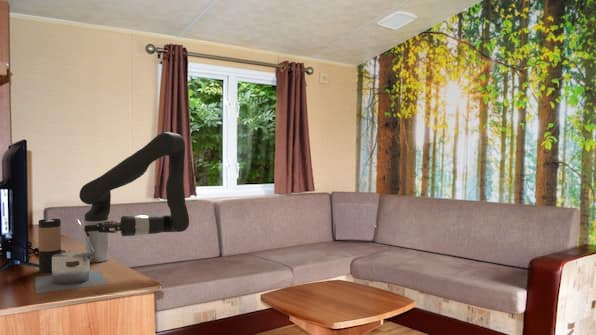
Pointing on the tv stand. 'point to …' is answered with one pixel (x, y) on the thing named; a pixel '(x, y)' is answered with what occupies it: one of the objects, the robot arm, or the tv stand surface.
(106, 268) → the tv stand surface
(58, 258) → the pot
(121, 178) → the robot arm
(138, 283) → the tv stand surface
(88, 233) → the lid
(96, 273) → the mat
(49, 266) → the travel mug
